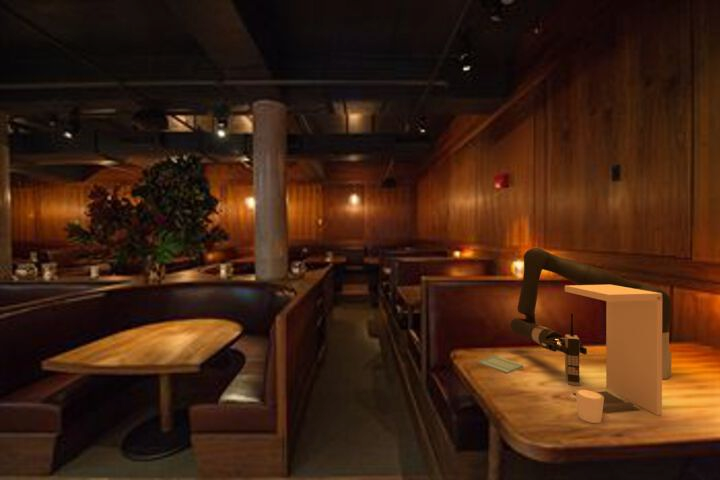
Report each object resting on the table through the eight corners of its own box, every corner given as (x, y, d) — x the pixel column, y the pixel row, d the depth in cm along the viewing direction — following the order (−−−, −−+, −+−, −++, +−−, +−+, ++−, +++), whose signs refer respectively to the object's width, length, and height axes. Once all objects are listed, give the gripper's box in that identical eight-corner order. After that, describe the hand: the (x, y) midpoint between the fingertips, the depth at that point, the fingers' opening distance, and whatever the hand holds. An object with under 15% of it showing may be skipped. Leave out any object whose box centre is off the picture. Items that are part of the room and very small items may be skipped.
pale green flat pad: (524, 368, 136) (524, 365, 136) (506, 375, 129) (506, 371, 129) (494, 358, 147) (494, 355, 147) (477, 364, 140) (477, 360, 140)
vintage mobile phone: (567, 384, 119) (567, 314, 119) (565, 379, 124) (564, 311, 124) (580, 386, 118) (579, 315, 118) (576, 380, 123) (576, 312, 122)
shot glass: (570, 412, 101) (570, 389, 101) (591, 410, 102) (591, 388, 102) (587, 424, 94) (587, 400, 94) (610, 423, 95) (610, 399, 95)
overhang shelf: (610, 387, 117) (610, 284, 117) (661, 414, 99) (662, 293, 99) (564, 390, 115) (564, 285, 115) (608, 418, 97) (608, 294, 97)
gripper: (529, 328, 134) (559, 342, 117) (563, 327, 136) (596, 340, 119) (529, 347, 134) (559, 363, 118) (563, 346, 136) (596, 361, 119)
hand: (577, 351), depth 118 cm, fingers closed on vintage mobile phone, 5 cm apart
